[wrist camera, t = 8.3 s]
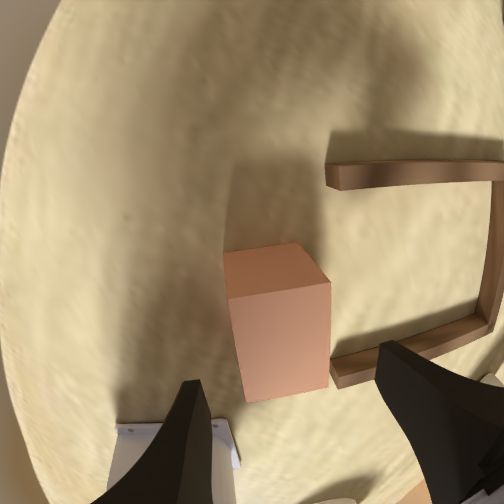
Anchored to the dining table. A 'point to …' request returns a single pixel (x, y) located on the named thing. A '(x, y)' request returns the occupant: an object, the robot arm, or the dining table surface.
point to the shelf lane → (496, 263)
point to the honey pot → (338, 501)
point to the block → (279, 320)
